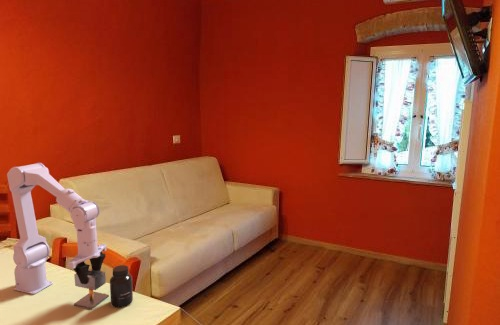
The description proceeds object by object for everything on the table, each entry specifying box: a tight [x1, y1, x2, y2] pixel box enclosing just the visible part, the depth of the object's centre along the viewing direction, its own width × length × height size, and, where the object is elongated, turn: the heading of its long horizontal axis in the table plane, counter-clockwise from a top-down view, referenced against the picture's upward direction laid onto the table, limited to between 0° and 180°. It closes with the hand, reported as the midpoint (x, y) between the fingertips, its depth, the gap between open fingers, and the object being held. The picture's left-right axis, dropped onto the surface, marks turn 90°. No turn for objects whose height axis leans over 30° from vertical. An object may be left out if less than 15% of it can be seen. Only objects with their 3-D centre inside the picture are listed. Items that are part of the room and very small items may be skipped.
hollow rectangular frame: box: [73, 268, 107, 291], centre depth 113 cm, size 8×5×4 cm, turn 72°
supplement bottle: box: [109, 264, 134, 309], centre depth 113 cm, size 7×7×12 cm
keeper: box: [73, 289, 110, 310], centre depth 114 cm, size 7×8×5 cm
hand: (90, 279), depth 113 cm, fingers closed on hollow rectangular frame, 5 cm apart
